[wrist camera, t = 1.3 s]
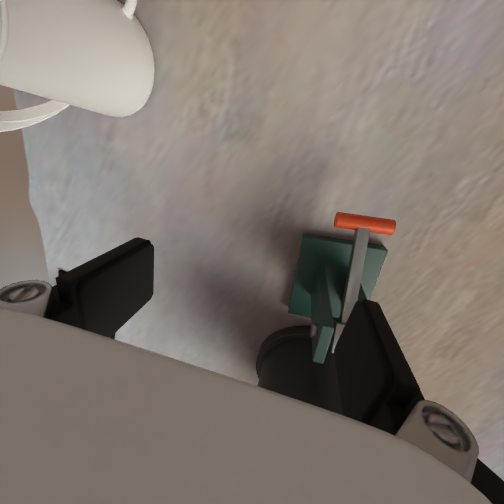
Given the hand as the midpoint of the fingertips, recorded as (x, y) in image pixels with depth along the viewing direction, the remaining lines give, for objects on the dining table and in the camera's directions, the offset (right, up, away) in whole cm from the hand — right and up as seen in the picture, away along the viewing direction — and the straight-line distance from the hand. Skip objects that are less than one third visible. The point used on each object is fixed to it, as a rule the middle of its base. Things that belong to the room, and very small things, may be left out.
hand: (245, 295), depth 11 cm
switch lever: (+10, -1, +13) cm, 17 cm away
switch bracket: (+11, -2, +22) cm, 25 cm away
